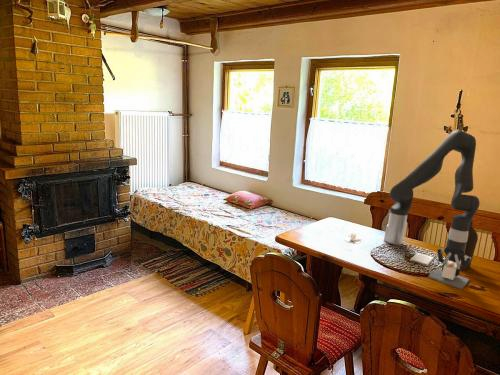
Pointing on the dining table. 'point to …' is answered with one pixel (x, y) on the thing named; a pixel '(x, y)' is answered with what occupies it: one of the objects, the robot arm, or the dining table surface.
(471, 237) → the olive oil
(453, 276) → the block
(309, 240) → the dining table surface
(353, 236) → the teacup and saucer
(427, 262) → the external hard drive
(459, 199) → the robot arm
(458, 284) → the mat
